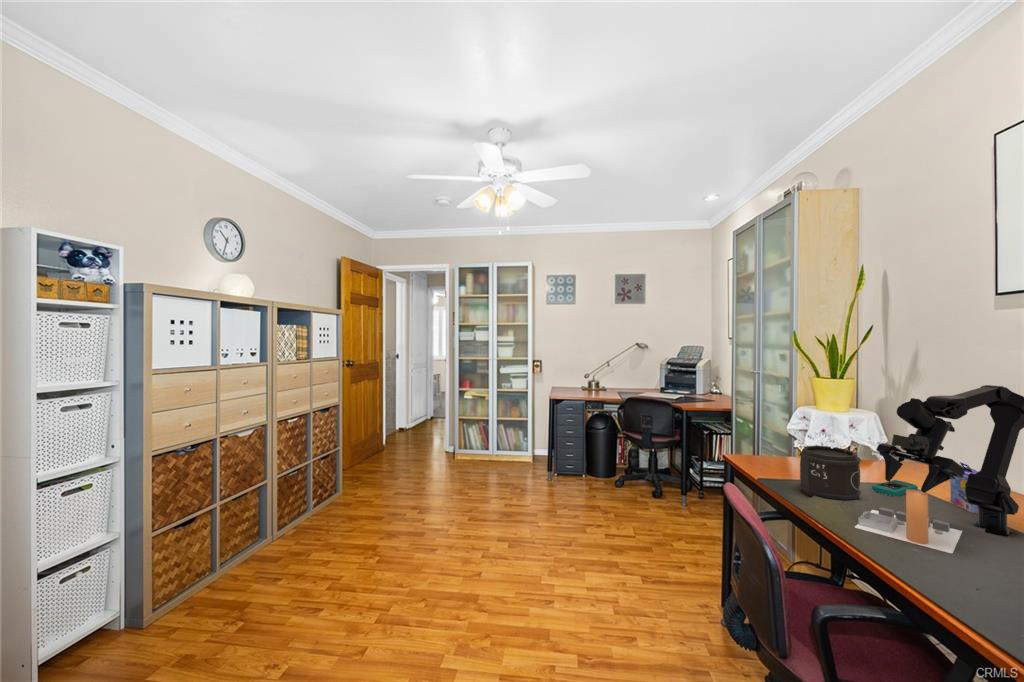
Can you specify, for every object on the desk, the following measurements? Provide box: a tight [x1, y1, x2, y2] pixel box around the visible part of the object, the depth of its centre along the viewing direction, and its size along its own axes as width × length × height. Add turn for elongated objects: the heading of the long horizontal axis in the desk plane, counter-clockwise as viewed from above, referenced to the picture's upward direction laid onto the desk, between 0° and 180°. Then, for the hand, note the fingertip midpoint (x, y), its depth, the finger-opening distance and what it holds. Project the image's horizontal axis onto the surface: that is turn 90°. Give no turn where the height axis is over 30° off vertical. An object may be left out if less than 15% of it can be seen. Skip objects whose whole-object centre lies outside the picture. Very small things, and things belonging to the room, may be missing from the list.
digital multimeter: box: [871, 479, 919, 497], centre depth 158 cm, size 7×15×3 cm, turn 112°
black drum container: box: [799, 445, 862, 501], centre depth 155 cm, size 18×18×16 cm
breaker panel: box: [854, 507, 963, 554], centre depth 124 cm, size 20×20×3 cm
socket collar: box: [857, 510, 898, 533], centre depth 127 cm, size 8×8×2 cm
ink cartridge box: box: [949, 461, 979, 514], centre depth 142 cm, size 10×6×14 cm, turn 164°
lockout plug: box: [905, 489, 929, 544], centre depth 117 cm, size 4×4×13 cm
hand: (904, 486), depth 120 cm, fingers open, 9 cm apart
